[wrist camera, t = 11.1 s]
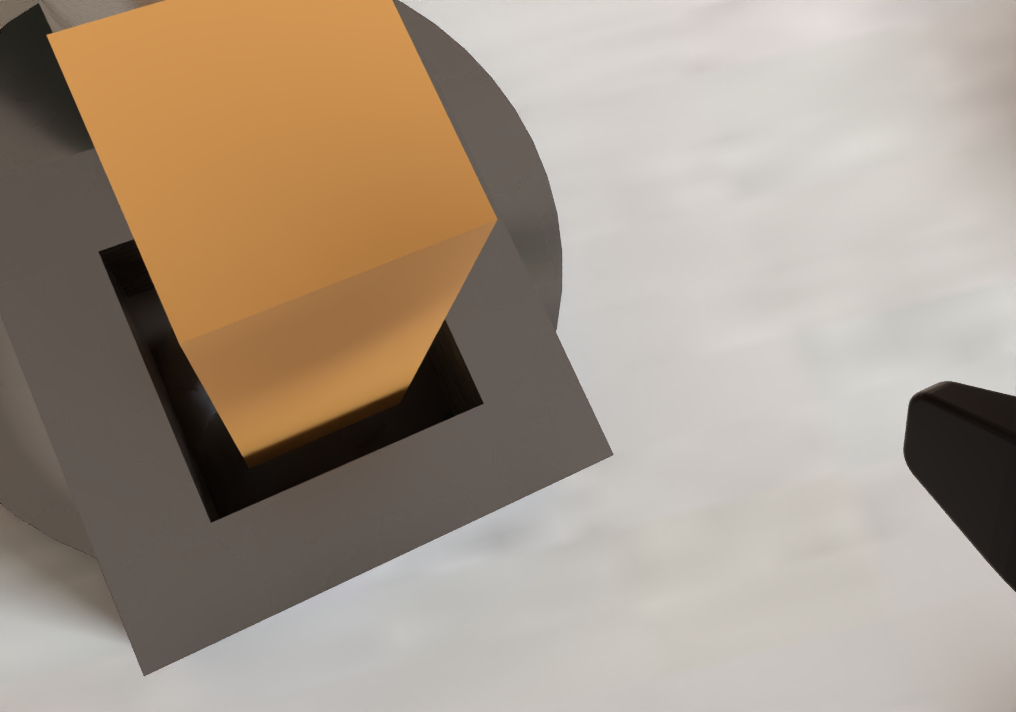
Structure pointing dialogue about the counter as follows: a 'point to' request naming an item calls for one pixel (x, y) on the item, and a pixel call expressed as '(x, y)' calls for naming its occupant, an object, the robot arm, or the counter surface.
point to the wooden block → (283, 199)
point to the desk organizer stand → (190, 412)
